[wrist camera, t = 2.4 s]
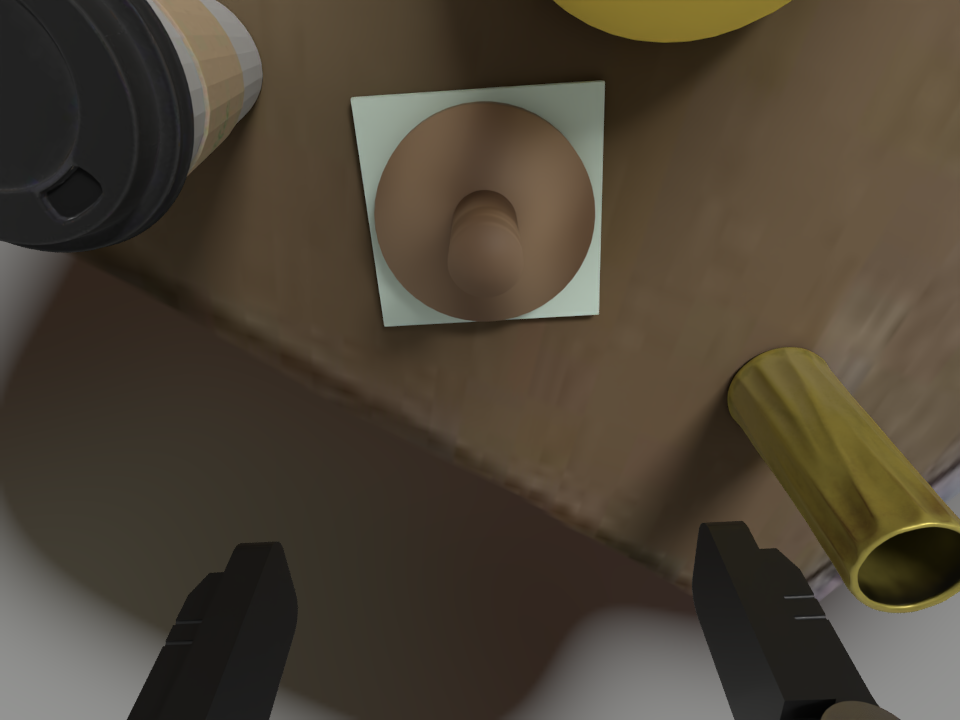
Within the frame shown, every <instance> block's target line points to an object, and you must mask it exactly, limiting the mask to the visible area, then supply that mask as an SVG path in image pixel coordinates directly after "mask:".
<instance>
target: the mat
mask: <svg viewBox="0 0 960 720" xmlns="http://www.w3.org/2000/svg"><path fill="white" fill-rule="evenodd" d="M604 98H605V81H604V80H596V81H581V82H567V83H552V84H537V85H523V86H508V87H493V88H479V89H464V90H449V91H435V92H420V93H405V94H391V95H376V96H361V97H352V98H351V105H352V111H353V118H354V125H355V132H356V138H357V145H358V152H359V159H360V165H361V172H362V179H363V186H364V192H365V199H366V206H367V212H368V219H369V226H370V233H371V239H372V246H373V253H374V260H375V266H376V273H377V280H378V287H379V293H380V300H381V307H382V314H383V320H384V327H388V326H405V325H423V324H440V323H458V322H475V321H469V320H462V319H458V318H454V317H451V316H448V315H445V314H443V313H440V312H438V311H436V310H434V309H432V308H430V307H428V306H426V305H425V304H423V303H422V302H421V301H419V300H418V299H416V298H415V297H414V296H413V295H412V294H410V293H409V292H408V291H407V290H406V289H405V288H404V287H403V286H402V285H401V283H400V282H399V281H398V280H397V279H396V277H395V276H394V274H393V273H392V271H391V270H390V268H389V267H388V265H387V263H386V261H385V259H384V257H383V255H382V252H381V249H380V246H379V243H378V239H377V234H376V230H375V218H374V210H375V198H376V193H377V188H378V184H379V181H380V178H381V175H382V172H383V170H384V168H385V166H386V164H387V162H388V160H389V158H390V157H391V155H392V153H393V152H394V150H395V149H396V148H397V146H398V145H399V143H400V142H401V141H402V140H403V138H404V137H405V136H406V135H407V134H408V133H409V132H410V131H411V130H412V129H413V128H415V127H416V126H417V125H418V124H419V123H421V122H422V121H423V120H425V119H427V118H428V117H430V116H431V115H433V114H435V113H437V112H439V111H442V110H444V109H446V108H448V107H452V106H456V105H459V104H463V103H470V102H477V101H493V102H500V103H507V104H511V105H514V106H518V107H521V108H524V109H526V110H528V111H531V112H533V113H535V114H537V115H539V116H540V117H542V118H543V119H545V120H546V121H548V122H549V123H551V124H552V125H553V126H554V127H555V128H556V129H558V130H559V131H560V132H561V133H562V134H563V135H564V136H565V138H566V139H567V140H568V141H569V142H570V143H571V145H572V146H573V148H574V149H575V151H576V152H577V154H578V155H579V157H580V159H581V160H582V162H583V164H584V166H585V168H586V171H587V173H588V176H589V179H590V182H591V185H592V189H593V194H594V200H595V225H594V232H593V236H592V241H591V244H590V247H589V250H588V253H587V255H586V258H585V259H584V261H583V263H582V265H581V267H580V269H579V270H578V272H577V273H576V275H575V276H574V278H573V279H572V280H571V281H570V282H569V284H568V285H567V286H566V287H565V288H564V289H563V290H562V291H561V292H560V293H559V294H557V295H556V296H555V297H554V298H553V299H551V300H550V301H548V302H547V303H546V304H544V305H543V306H541V307H539V308H537V309H535V310H533V311H531V312H529V313H526V314H524V315H521V316H518V317H515V318H510V319H528V318H546V317H563V316H581V315H598V314H599V287H600V249H601V211H602V174H603V136H604ZM510 319H506V320H510Z"/></svg>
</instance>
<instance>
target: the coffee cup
mask: <svg viewBox="0 0 960 720" xmlns="http://www.w3.org/2000/svg"><path fill="white" fill-rule="evenodd" d="M262 78H263V73H262V63H261V60H260V56H259V53H258V50H257V48H256V46H255V44H254V41H253V39H252V37H251V36H250V34H249V33H248V31H247V30H246V28H245V27H244V25H243V24H242V23H241V22H240V21H239V20H238V18H237V17H236V16H235V15H234V14H233V13H232V12H231V11H230V10H228V9H227V8H226V7H225V6H224V5H222V4H221V3H219V2H217V1H216V0H0V241H5V242H8V243H11V244H14V245H17V246H21V247H25V248H29V249H35V250H40V251H48V252H67V253H69V252H82V251H89V250H94V249H98V248H102V247H106V246H110V245H114V244H118V243H121V242H123V241H126V240H129V239H131V238H133V237H135V236H137V235H139V234H141V233H142V232H144V231H145V230H147V229H148V228H150V227H151V226H152V225H153V224H155V223H156V222H157V221H158V220H159V219H160V218H161V217H162V216H163V215H164V214H165V213H166V212H167V211H168V209H169V208H170V207H171V206H172V204H173V203H174V201H175V200H176V198H177V196H178V195H179V193H180V191H181V189H182V187H183V185H184V183H185V180H186V177H187V176H188V175H189V174H190V173H191V172H192V171H193V170H194V169H195V168H196V167H197V166H198V165H199V164H200V163H202V162H203V161H204V160H205V159H206V158H207V157H208V156H209V155H210V154H211V153H212V152H213V151H214V150H215V149H216V148H217V147H218V146H219V145H220V144H221V143H222V142H223V141H224V140H225V139H226V138H227V137H228V136H229V134H230V133H231V131H232V129H233V128H234V126H235V125H236V124H237V123H238V122H239V121H240V120H241V119H242V118H243V117H244V116H245V115H246V114H247V113H248V112H249V111H250V109H251V108H252V106H253V105H254V103H255V102H256V100H257V98H258V95H259V93H260V90H261V86H262Z"/></svg>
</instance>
